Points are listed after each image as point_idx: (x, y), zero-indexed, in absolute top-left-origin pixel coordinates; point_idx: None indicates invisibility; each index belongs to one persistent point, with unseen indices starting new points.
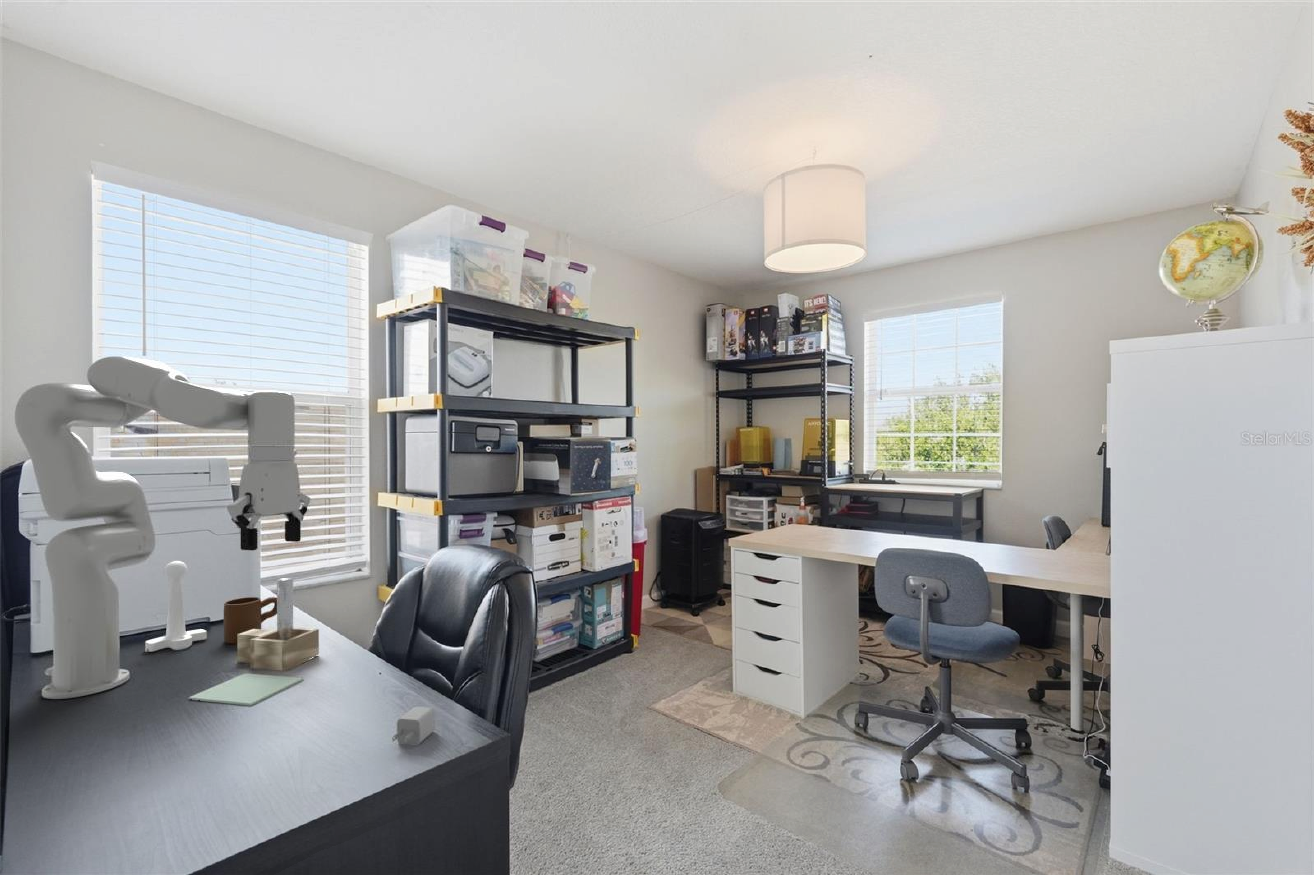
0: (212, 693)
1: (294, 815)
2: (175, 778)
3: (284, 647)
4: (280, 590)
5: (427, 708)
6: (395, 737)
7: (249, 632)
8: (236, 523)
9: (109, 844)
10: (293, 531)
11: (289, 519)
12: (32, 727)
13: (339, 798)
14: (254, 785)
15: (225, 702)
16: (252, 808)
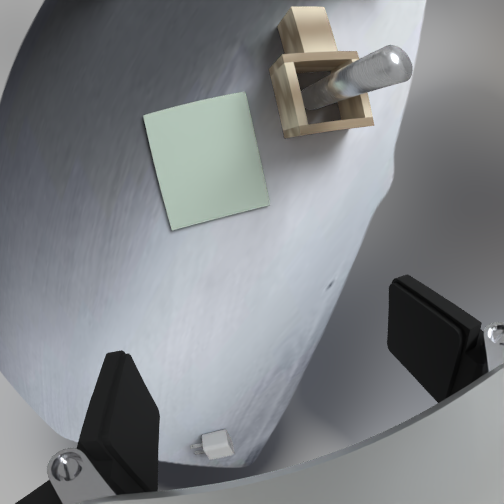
0: (167, 132)
1: None
2: (56, 337)
3: (297, 132)
4: (368, 71)
5: (231, 453)
6: (194, 446)
7: (308, 16)
8: (41, 495)
9: (19, 379)
10: (415, 358)
11: (470, 367)
12: (28, 50)
13: None
14: None
15: (159, 184)
16: None
